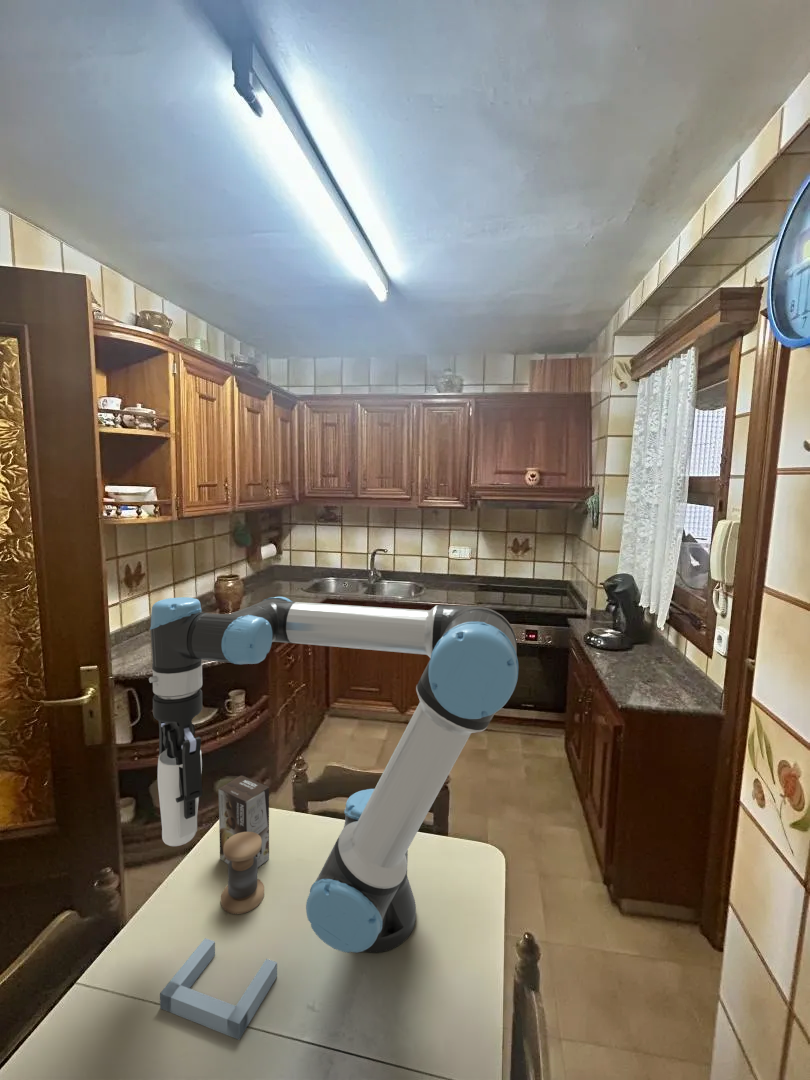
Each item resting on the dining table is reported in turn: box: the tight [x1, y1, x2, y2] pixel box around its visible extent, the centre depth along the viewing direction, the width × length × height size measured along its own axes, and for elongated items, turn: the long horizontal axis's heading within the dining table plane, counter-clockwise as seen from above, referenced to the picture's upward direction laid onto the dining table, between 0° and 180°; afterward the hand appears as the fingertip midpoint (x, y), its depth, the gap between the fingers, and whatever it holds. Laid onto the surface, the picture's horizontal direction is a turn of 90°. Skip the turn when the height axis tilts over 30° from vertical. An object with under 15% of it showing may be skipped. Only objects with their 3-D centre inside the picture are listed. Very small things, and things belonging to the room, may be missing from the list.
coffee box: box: [218, 774, 270, 869], centre depth 106 cm, size 9×6×16 cm
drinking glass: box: [157, 749, 203, 847], centre depth 84 cm, size 7×7×15 cm
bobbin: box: [220, 832, 265, 915], centre depth 96 cm, size 8×8×11 cm
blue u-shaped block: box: [159, 937, 278, 1041], centre depth 78 cm, size 14×10×2 cm
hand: (180, 822), depth 84 cm, fingers closed on drinking glass, 6 cm apart
